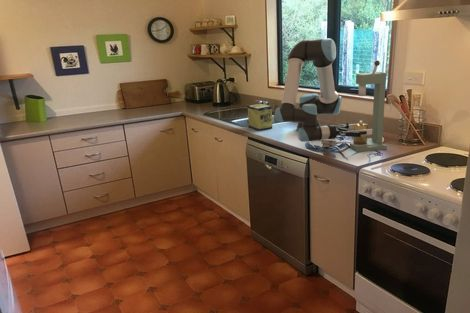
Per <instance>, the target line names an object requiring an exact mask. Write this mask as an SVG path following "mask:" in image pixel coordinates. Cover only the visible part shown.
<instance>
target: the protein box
mask: <svg viewBox="0 0 470 313" xmlns="http://www.w3.org/2000/svg"><path fill="white" fill-rule="evenodd" d="M247 119H248V128H250V129H253V130H255V131H258V132H262V131H267V130H271V129H273V107H272V105H267V104H262V103H257V104H250V105H247Z"/></svg>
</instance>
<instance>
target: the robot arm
mask: <svg viewBox="0 0 470 313" xmlns="http://www.w3.org/2000/svg"><path fill="white" fill-rule="evenodd" d="M336 57H337V46H336V43H335V41H334V39H332V38H326V37H323V38H315V39H314V38H313V39H303V40H301V41H298V42H297V43H296V44H295V45H294V46H293V47H292V49H291V50H290V52H289V54H288V57H287V60H286V61H287V62H286V64H287V70H286V77H285V80H284V81H285V83H284V88H283V93H282V99H281V103H280V106H279V107H276V108H275V111H274V118H275V120H276V121H277V122H280V123H281V122H282V123H297V126H296V131H297V137H298V140H299V141H300V142H308V143H309V142H314V141H315V142H316V141H322V142H324V140H335V139H336V138H337V137H338V136H339V137H343V138H345V137H347V138H348V137H350V138H352V137H353V138H354V137H361V135H367V136H370V135H372V128H368V129H366V130H360V131H356V130H354V124H355V123H351V124H350V123H349V122H346V123H341V124H339V125H335V124H328V125H320V121H319V118H318V117H319V116H318V115H327V116H329V115H330V116H334V115H339V114H340V112H341V108H342V98H343V96H341V95H339V93H338V92H337V91H336V89H335V81H334V79H335V78H334V74H333V66H332V65H333V63H334V61H335V59H336ZM306 62H312V65H313V66H314V67H315V69H316V75H317V80H318V87H319V91H320V94H319V95H318V93H314V92H313V93H306V94H303V95H301V96H300V97H299V99H298V100H299V102H298V107H296V104H297V102H296V101H297V98H298V93H299V92H298V90H299V87H300V81H301V77H302V76H301V74H302V70H303V69H302V68H303V67H304V66H305V63H306Z"/></svg>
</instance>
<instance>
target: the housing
mask: <svg viewBox="0 0 470 313" xmlns="http://www.w3.org/2000/svg"><path fill="white" fill-rule="evenodd" d="M353 124H354V129H353V130H356V131H360V130H366V129H369V124H368V123H364V121H363V120H359V121H358V122H357V123H353ZM367 138H368V135H361V137H353V139H352V140H353V143H354V144H357V145H364V144H367Z"/></svg>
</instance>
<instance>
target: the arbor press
mask: <svg viewBox="0 0 470 313" xmlns="http://www.w3.org/2000/svg"><path fill="white" fill-rule="evenodd" d="M373 64H374V66H373V70H372V72H362V73H355V84H356V85H358V95H357V96H359V97H366V96H367V85H374V86H373V88H374V89H373V91H374V92H373V106H372V107H373V108H372V124H371V125H372V127H371V129H372V134H371V137H369V138H368V137H367V144H364V145H357V144H354V143H353V139H349V140H350V141H351V143H350V147H351V149H352V150H354V151H355V152H356V153H362V152H374V151H382V150H383V151H385V150H387V149H388V145H387V144H385V143H383V137H384V134H383V133H384V119H385V118H384V117H385V104H386V103H385V102H386V86H387V84H386V83H387V72H384V71H377V69H378V67H379V66H380V64H381V61H380V60H375V61H374V63H373ZM350 147H349V148H350Z"/></svg>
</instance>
